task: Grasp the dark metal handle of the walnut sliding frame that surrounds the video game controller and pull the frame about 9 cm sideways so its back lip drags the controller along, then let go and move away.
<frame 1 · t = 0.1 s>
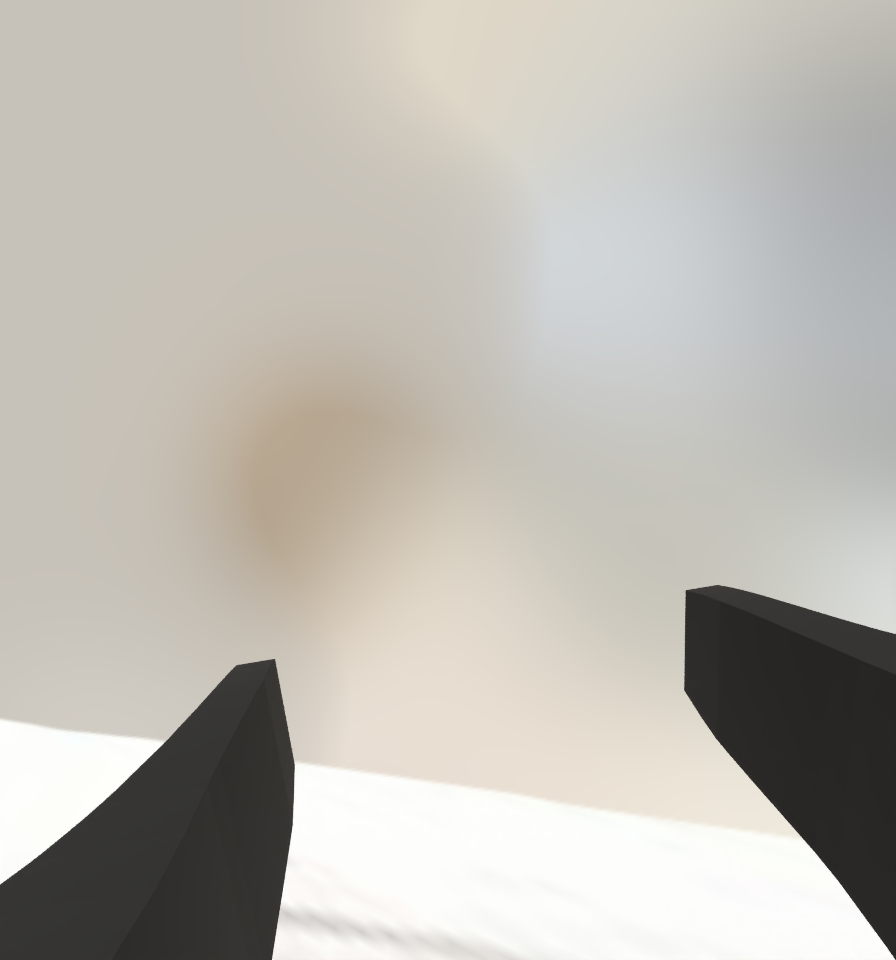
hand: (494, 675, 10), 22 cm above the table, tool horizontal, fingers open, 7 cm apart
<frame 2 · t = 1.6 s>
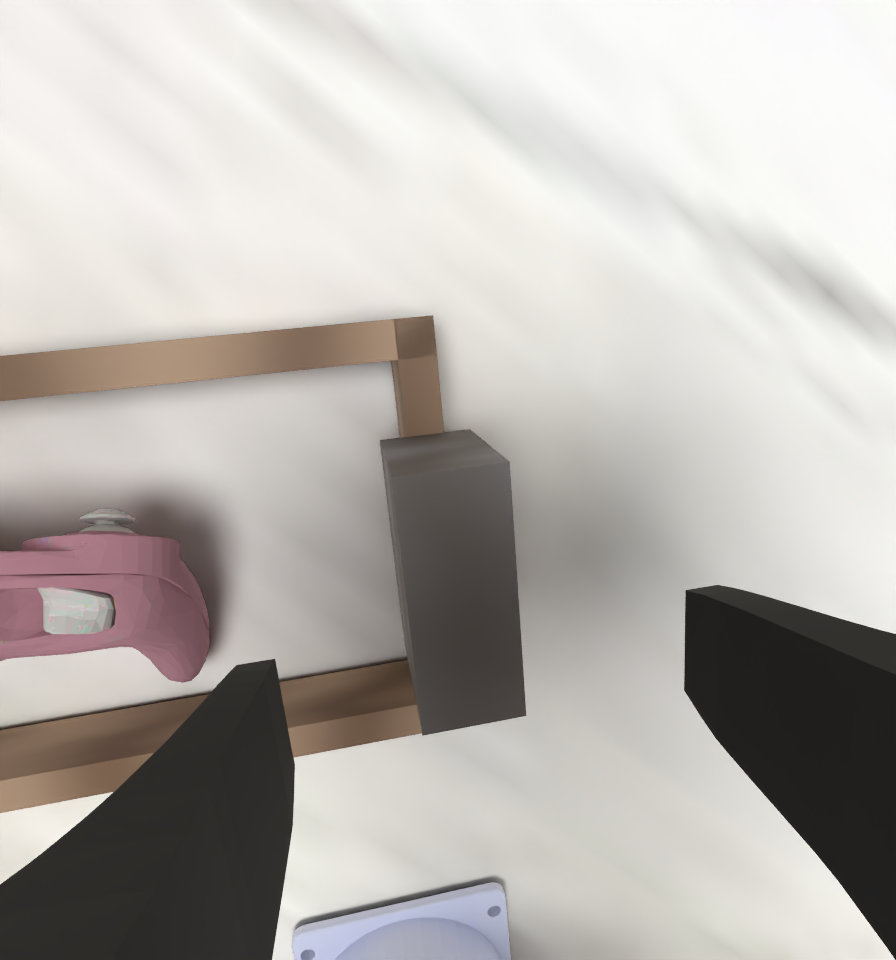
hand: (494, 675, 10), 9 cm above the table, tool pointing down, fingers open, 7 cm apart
sliding frame: (88, 603, 15), point 3 cm above the table, slide at 0.0 cm
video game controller: (45, 575, 18), on the table
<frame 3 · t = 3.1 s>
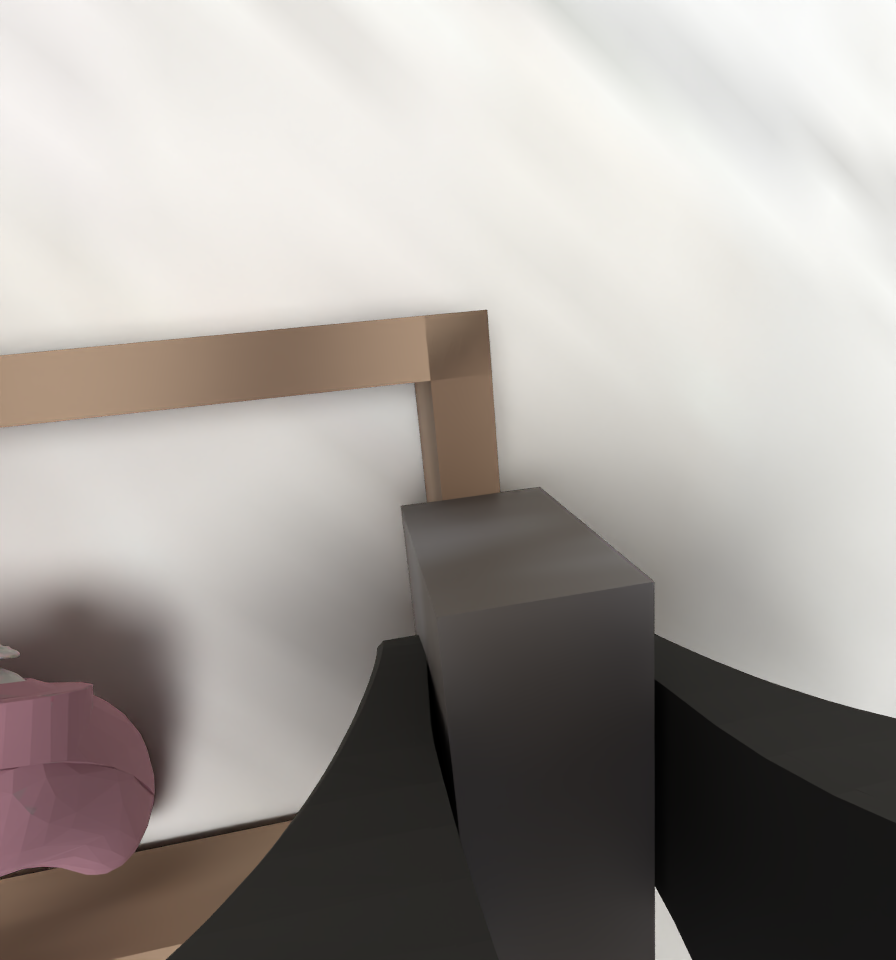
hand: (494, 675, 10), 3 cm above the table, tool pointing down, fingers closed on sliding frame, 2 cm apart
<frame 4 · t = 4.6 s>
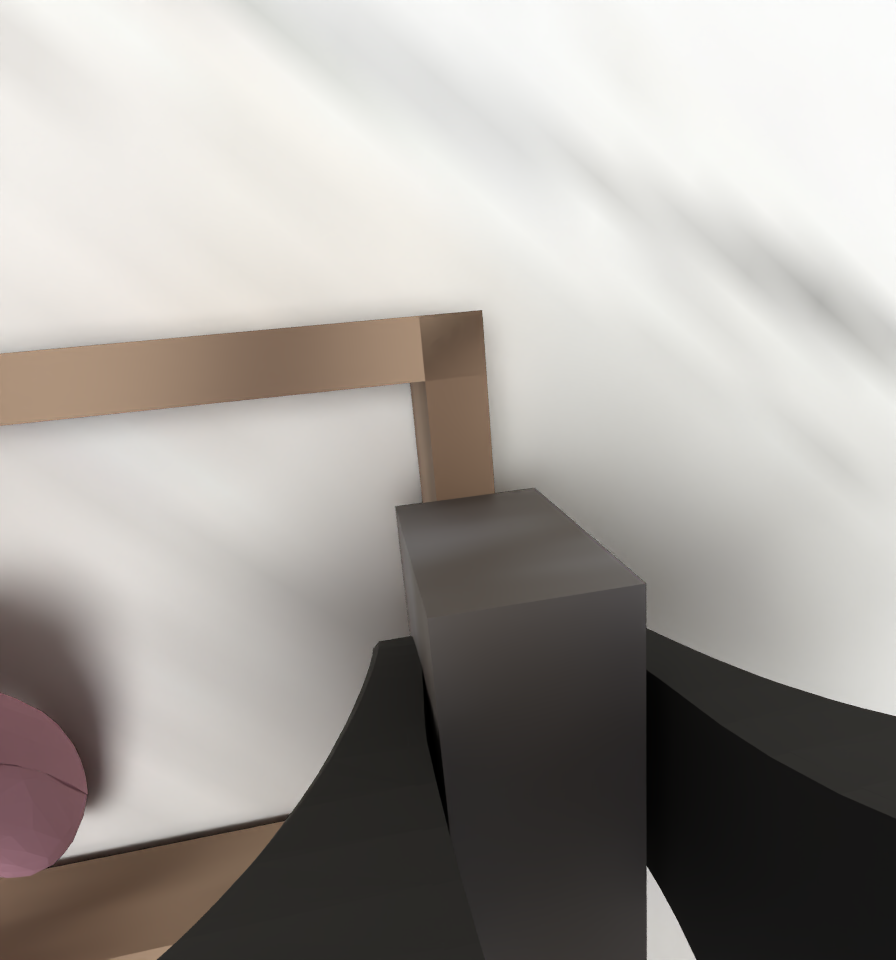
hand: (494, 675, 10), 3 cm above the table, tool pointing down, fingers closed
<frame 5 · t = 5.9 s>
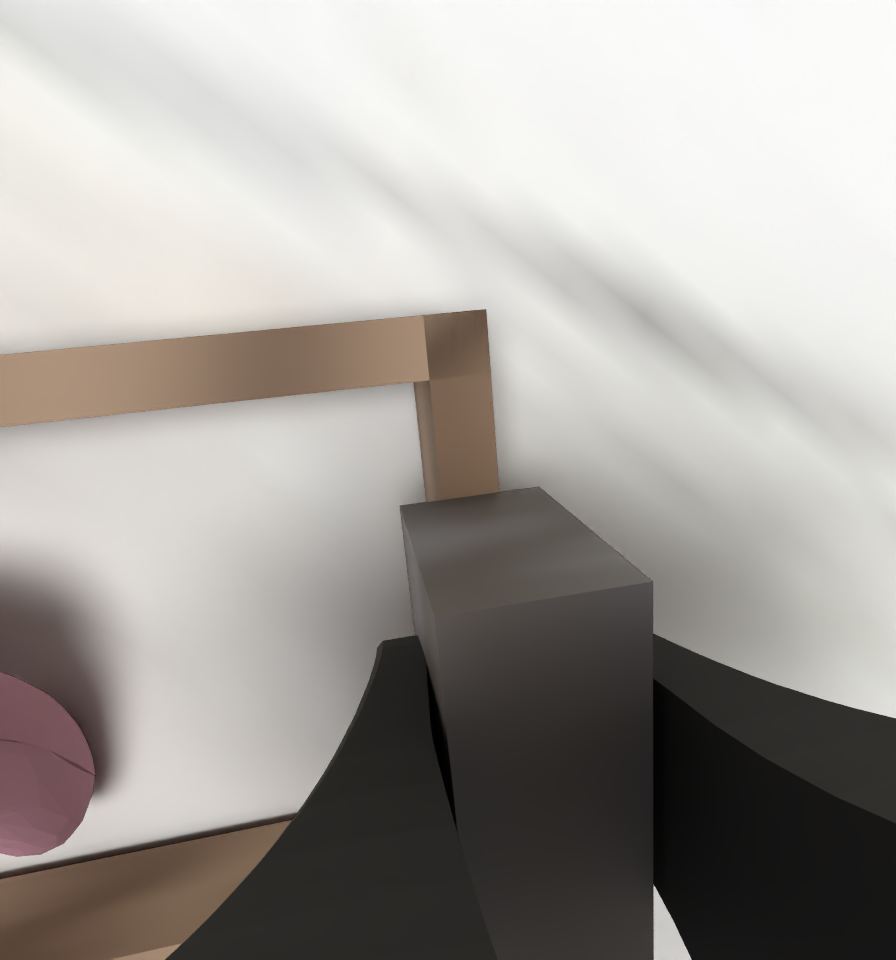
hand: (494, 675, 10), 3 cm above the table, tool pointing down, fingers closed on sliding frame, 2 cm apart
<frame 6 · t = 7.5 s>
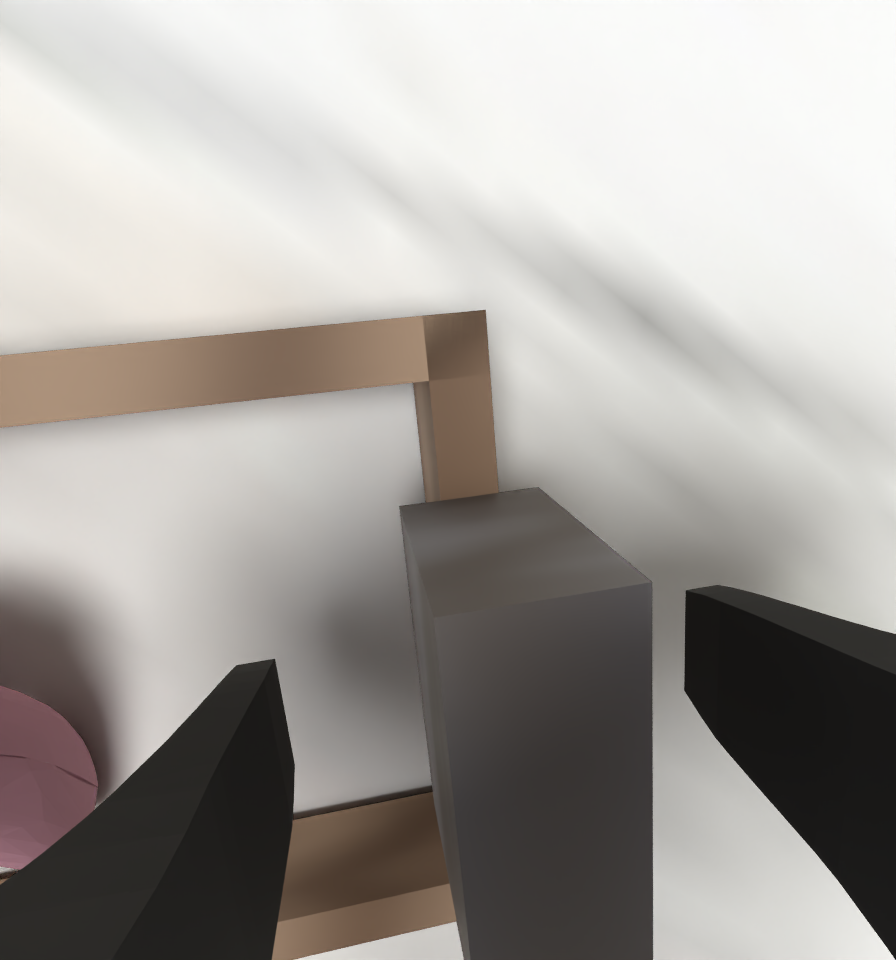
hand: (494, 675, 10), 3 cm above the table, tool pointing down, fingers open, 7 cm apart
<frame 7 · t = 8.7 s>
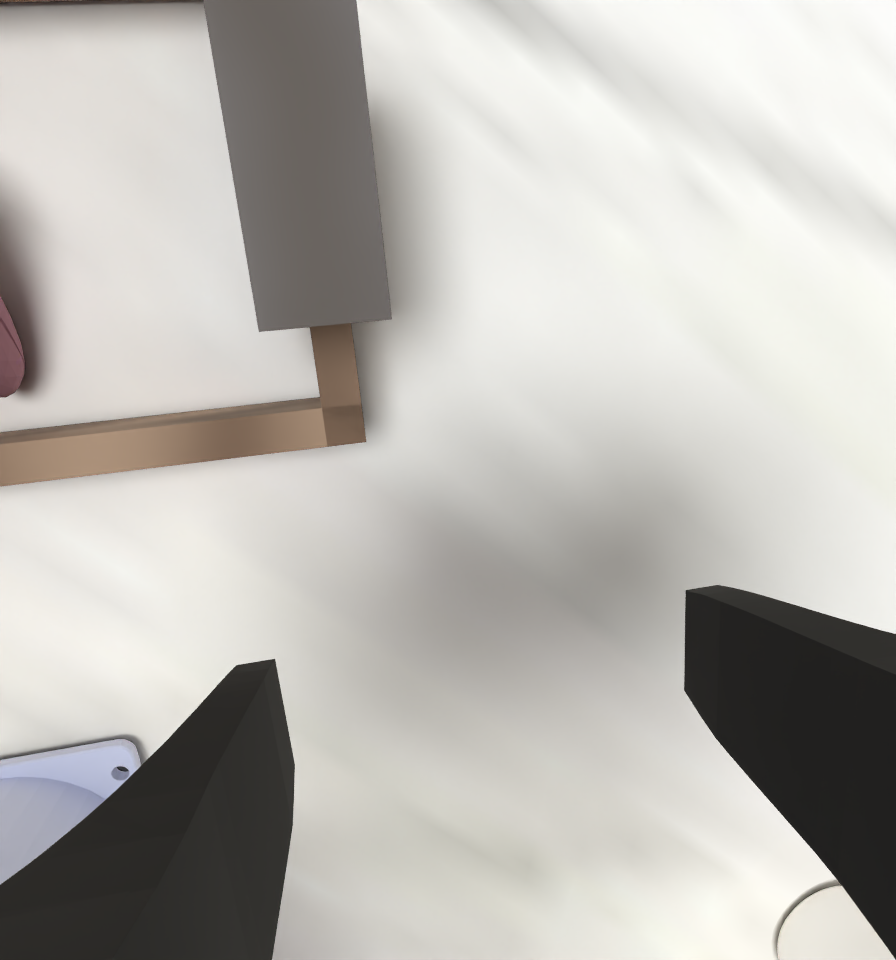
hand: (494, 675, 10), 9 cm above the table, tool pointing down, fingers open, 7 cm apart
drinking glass: (820, 921, 28), on the table
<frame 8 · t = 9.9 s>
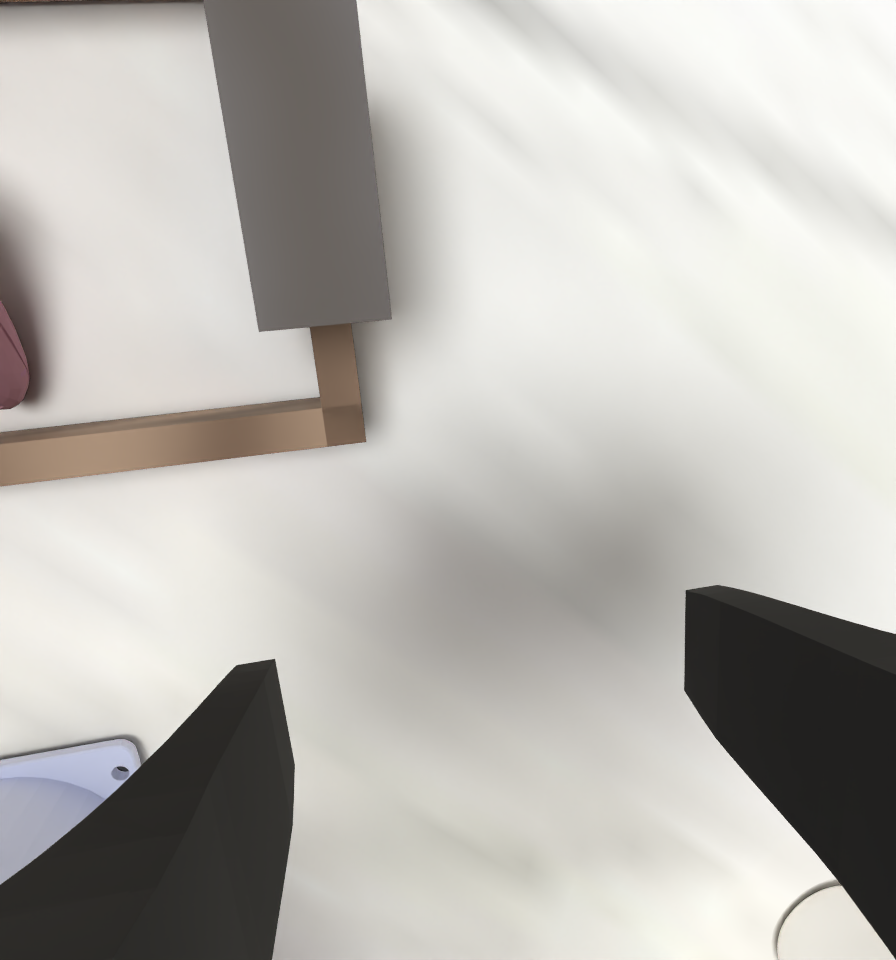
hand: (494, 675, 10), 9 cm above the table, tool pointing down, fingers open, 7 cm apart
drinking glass: (820, 921, 28), on the table
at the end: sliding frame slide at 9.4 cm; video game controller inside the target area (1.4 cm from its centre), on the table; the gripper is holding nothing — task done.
